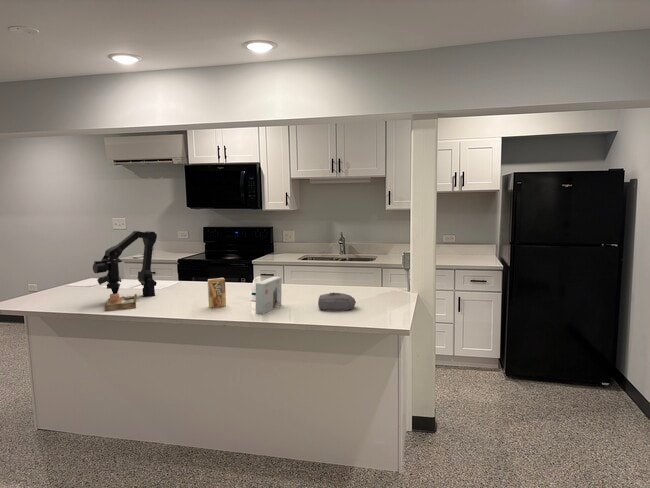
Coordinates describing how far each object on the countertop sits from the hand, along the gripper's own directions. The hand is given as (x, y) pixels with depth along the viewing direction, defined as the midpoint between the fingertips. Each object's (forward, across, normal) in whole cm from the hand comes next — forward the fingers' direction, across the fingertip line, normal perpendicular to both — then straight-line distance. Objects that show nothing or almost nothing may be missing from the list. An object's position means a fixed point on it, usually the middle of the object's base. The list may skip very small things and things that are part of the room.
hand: (115, 297), depth 261 cm
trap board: (+3, +8, +4) cm, 10 cm away
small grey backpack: (+1, +64, +113) cm, 130 cm away
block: (+1, +3, 0) cm, 3 cm away
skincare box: (+2, +51, +79) cm, 94 cm away
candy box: (+2, +34, +54) cm, 64 cm away
